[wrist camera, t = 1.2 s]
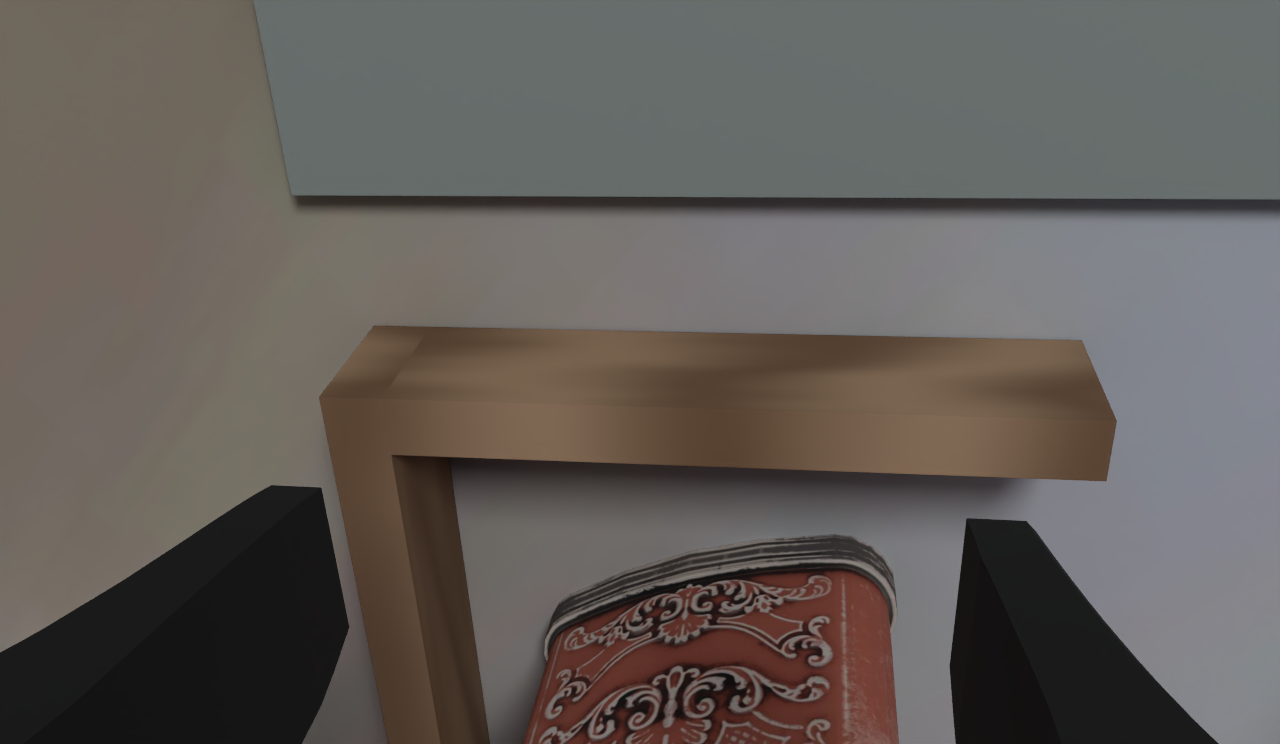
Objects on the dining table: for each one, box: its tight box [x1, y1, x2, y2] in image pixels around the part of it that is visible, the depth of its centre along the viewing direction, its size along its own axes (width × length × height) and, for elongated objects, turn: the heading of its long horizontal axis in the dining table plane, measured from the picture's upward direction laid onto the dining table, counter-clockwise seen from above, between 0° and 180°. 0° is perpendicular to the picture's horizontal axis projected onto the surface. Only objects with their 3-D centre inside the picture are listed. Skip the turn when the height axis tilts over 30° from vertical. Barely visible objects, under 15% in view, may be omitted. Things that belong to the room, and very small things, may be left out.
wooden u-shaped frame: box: [319, 326, 1117, 744], centre depth 25 cm, size 14×14×3 cm
